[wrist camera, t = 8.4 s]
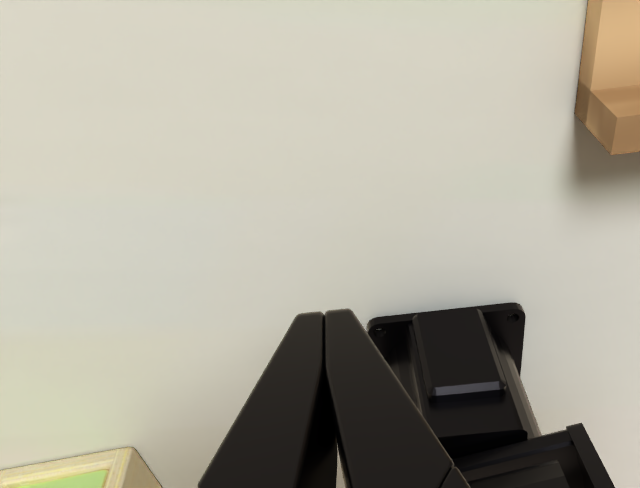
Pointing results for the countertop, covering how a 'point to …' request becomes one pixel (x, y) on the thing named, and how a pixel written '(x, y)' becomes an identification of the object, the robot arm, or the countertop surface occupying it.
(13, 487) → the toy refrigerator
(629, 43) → the bay
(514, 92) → the countertop surface
